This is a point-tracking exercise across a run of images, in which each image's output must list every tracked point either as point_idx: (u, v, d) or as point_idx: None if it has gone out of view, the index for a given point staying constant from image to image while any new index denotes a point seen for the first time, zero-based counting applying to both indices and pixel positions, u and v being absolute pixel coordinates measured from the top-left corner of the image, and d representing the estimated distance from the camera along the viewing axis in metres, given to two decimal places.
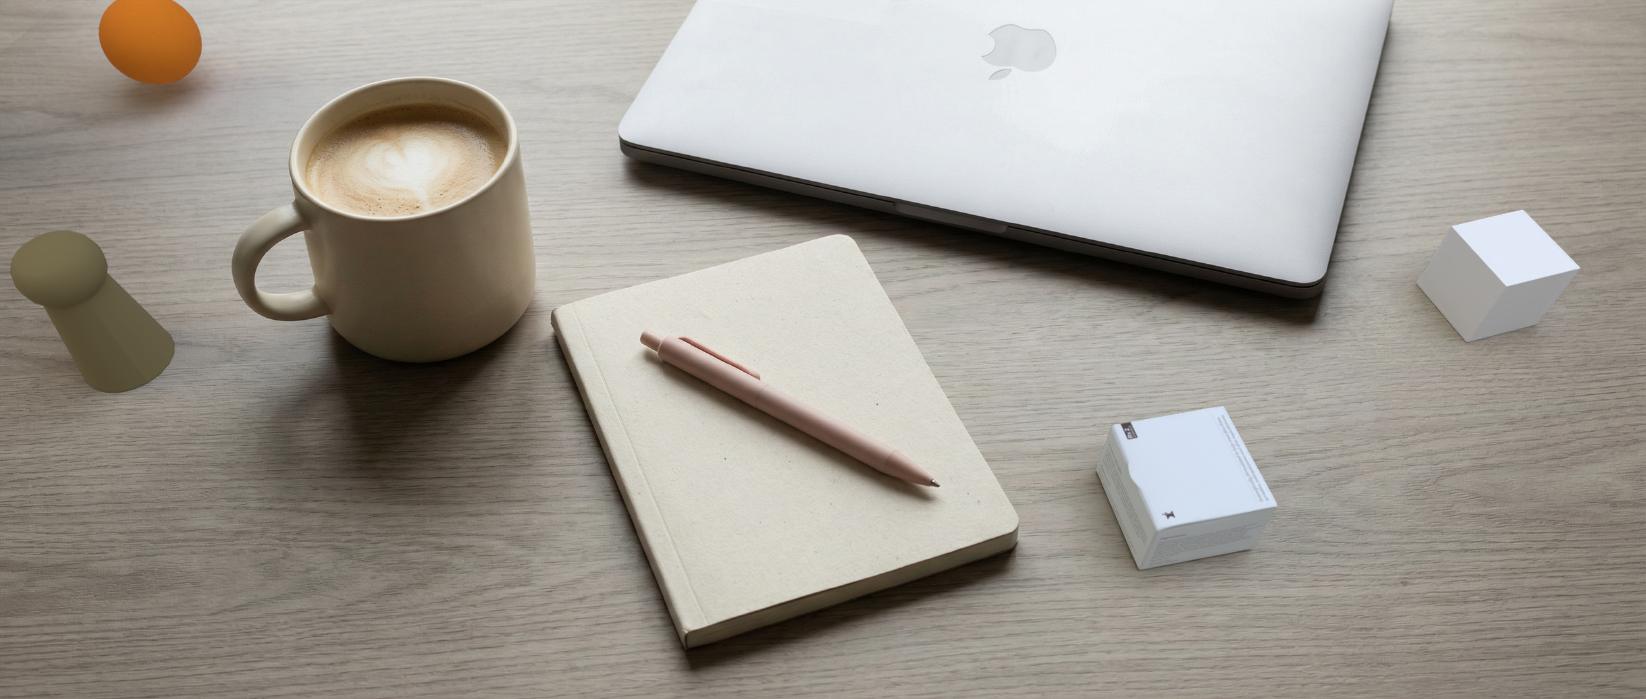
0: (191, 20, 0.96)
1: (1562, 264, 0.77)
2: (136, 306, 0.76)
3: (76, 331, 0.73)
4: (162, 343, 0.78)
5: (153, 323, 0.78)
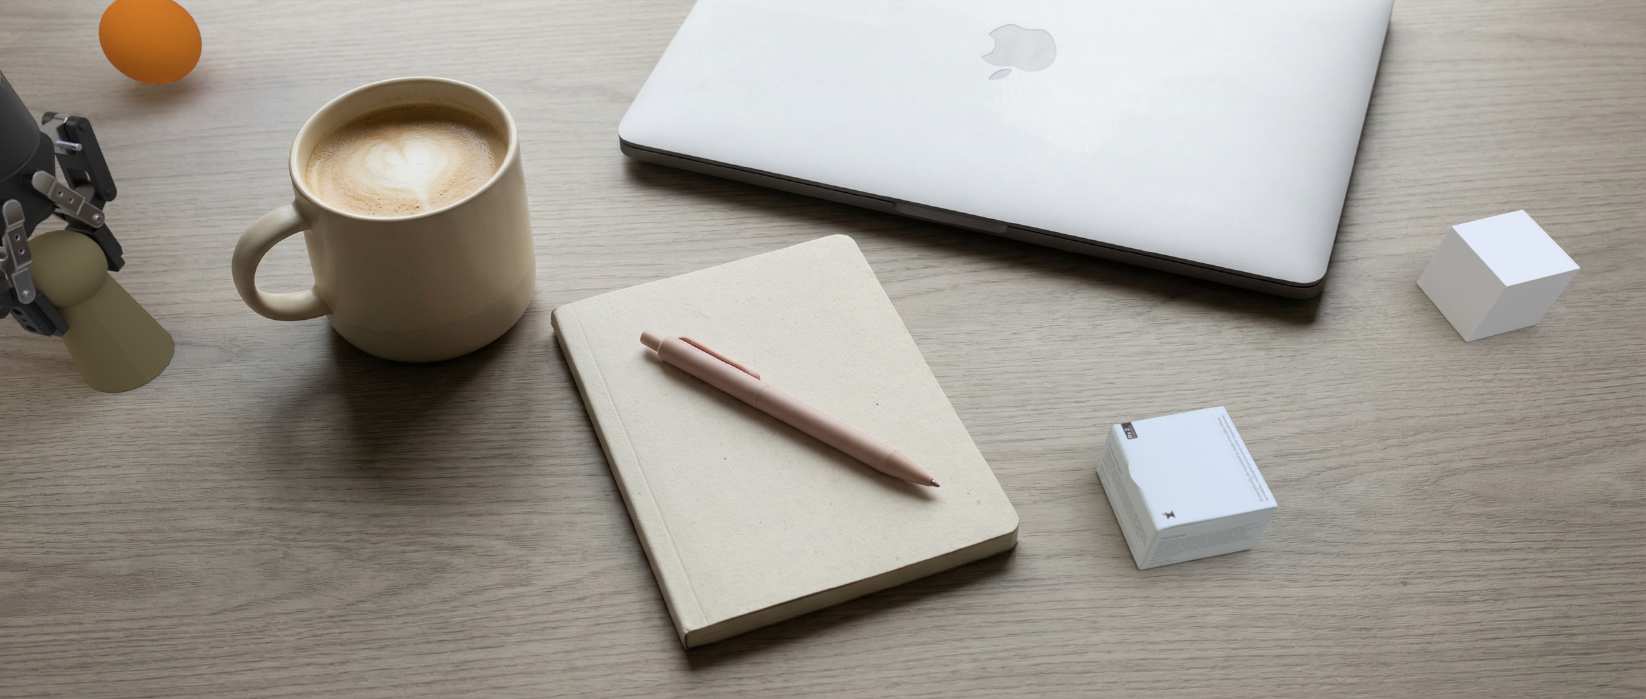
0: (191, 20, 0.96)
1: (1562, 264, 0.77)
2: (136, 306, 0.76)
3: (76, 331, 0.73)
4: (162, 343, 0.78)
5: (153, 323, 0.78)
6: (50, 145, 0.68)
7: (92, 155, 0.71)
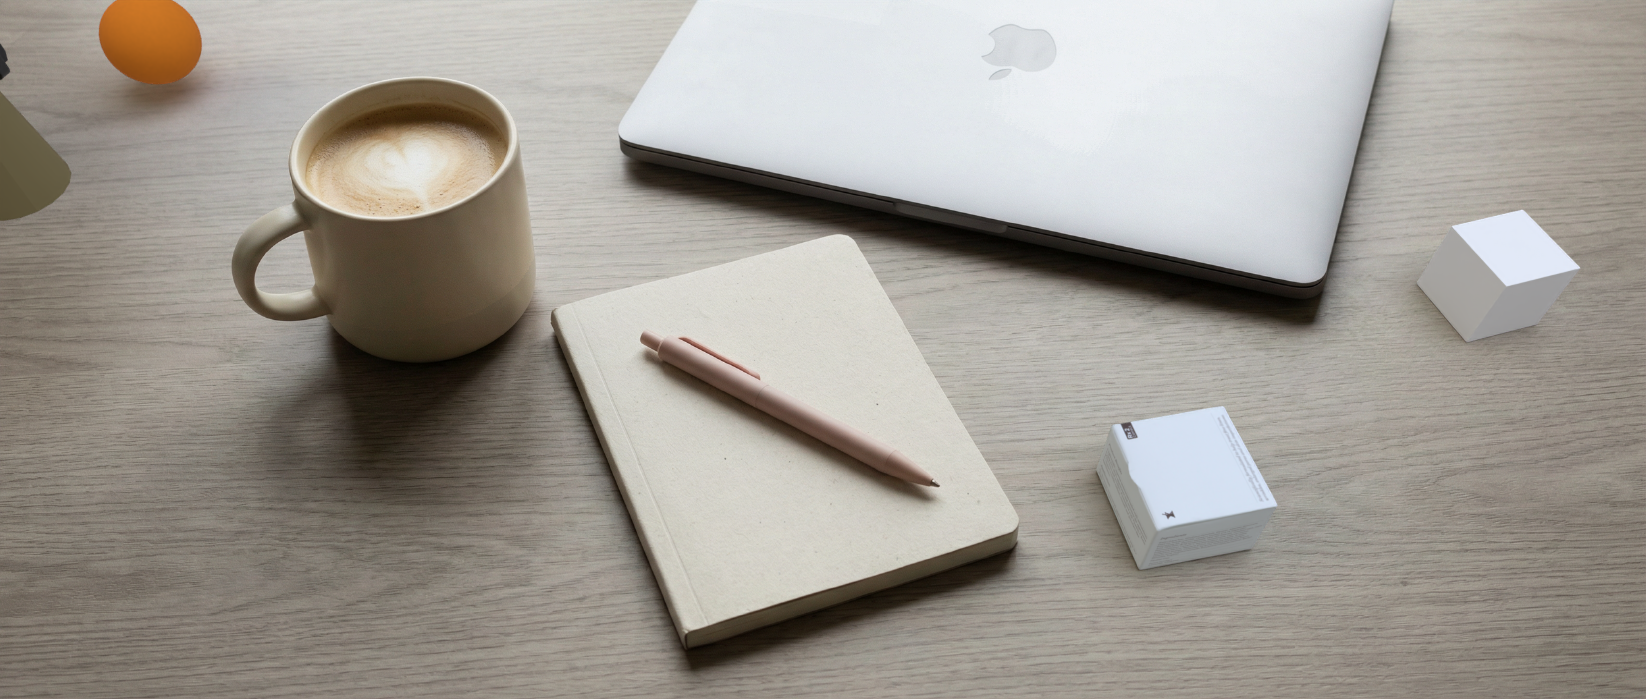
0: (191, 20, 0.96)
1: (1562, 264, 0.77)
2: (23, 121, 0.67)
3: None
4: (55, 169, 0.69)
5: (44, 145, 0.68)
6: None
7: None
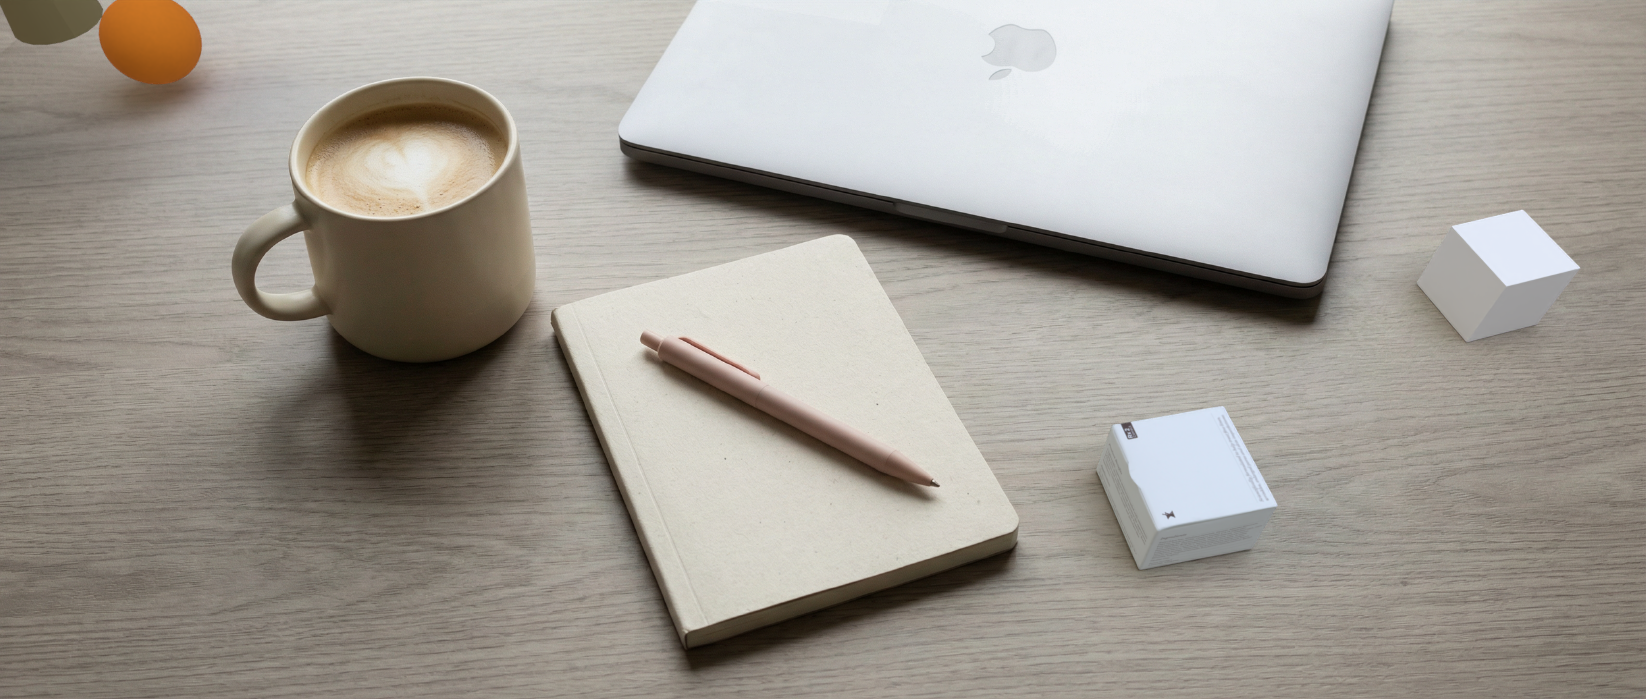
0: (191, 20, 0.96)
1: (1562, 264, 0.77)
2: None
3: None
4: (90, 2, 0.80)
5: None
6: None
7: None
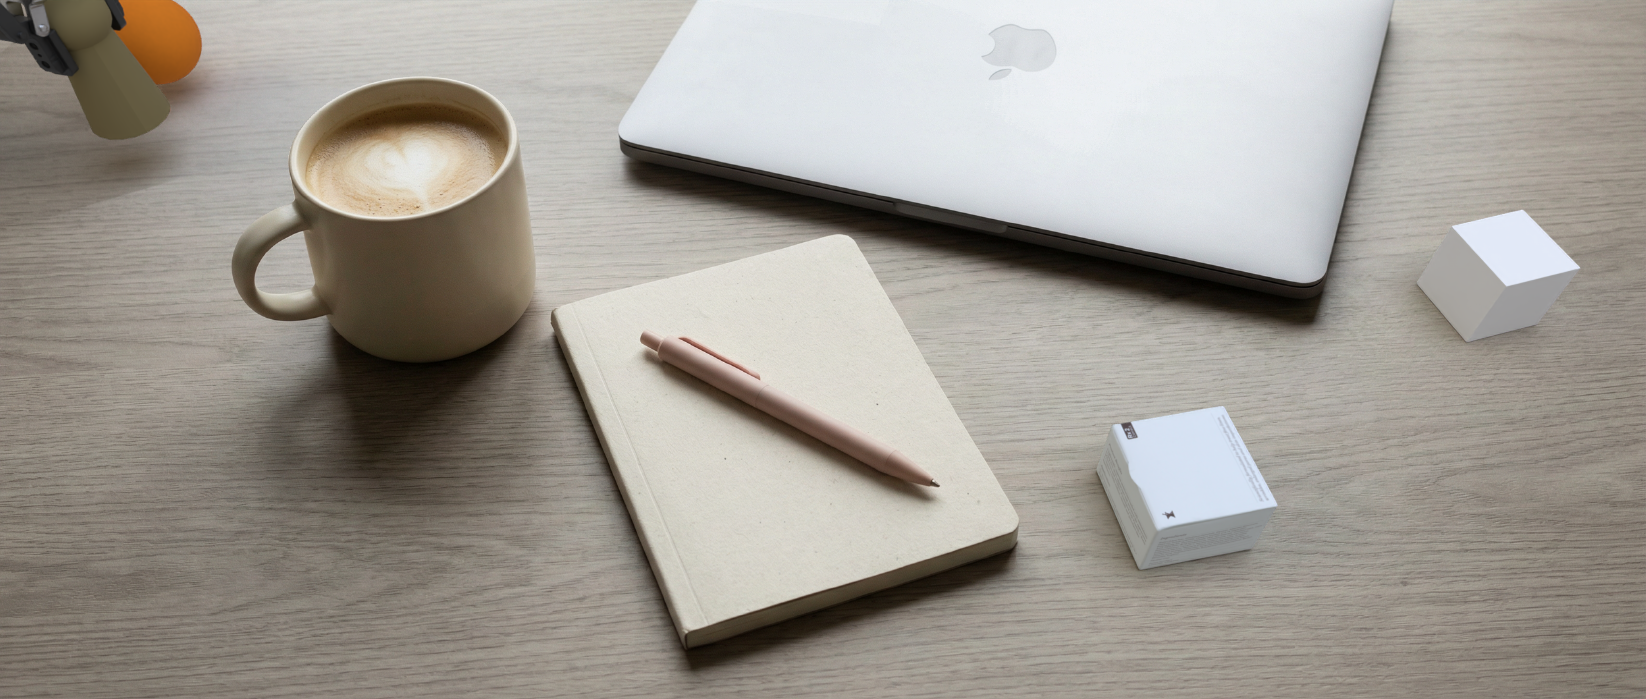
0: (191, 20, 0.96)
1: (1562, 264, 0.77)
2: (137, 62, 0.87)
3: (85, 75, 0.84)
4: (159, 100, 0.89)
5: (151, 81, 0.89)
6: None
7: None
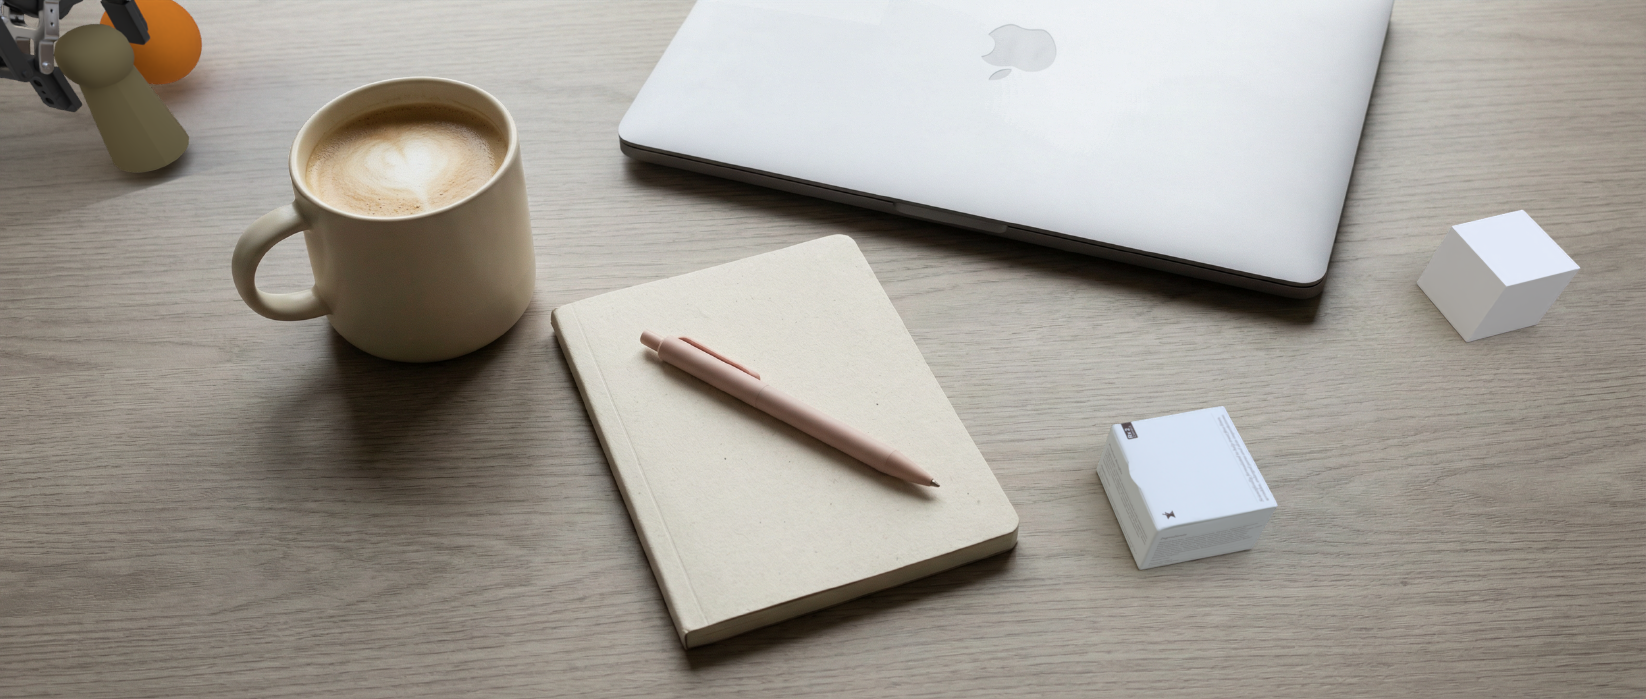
0: (191, 20, 0.96)
1: (1562, 264, 0.77)
2: (157, 97, 0.90)
3: (108, 111, 0.87)
4: (179, 133, 0.92)
5: (171, 115, 0.91)
6: None
7: None
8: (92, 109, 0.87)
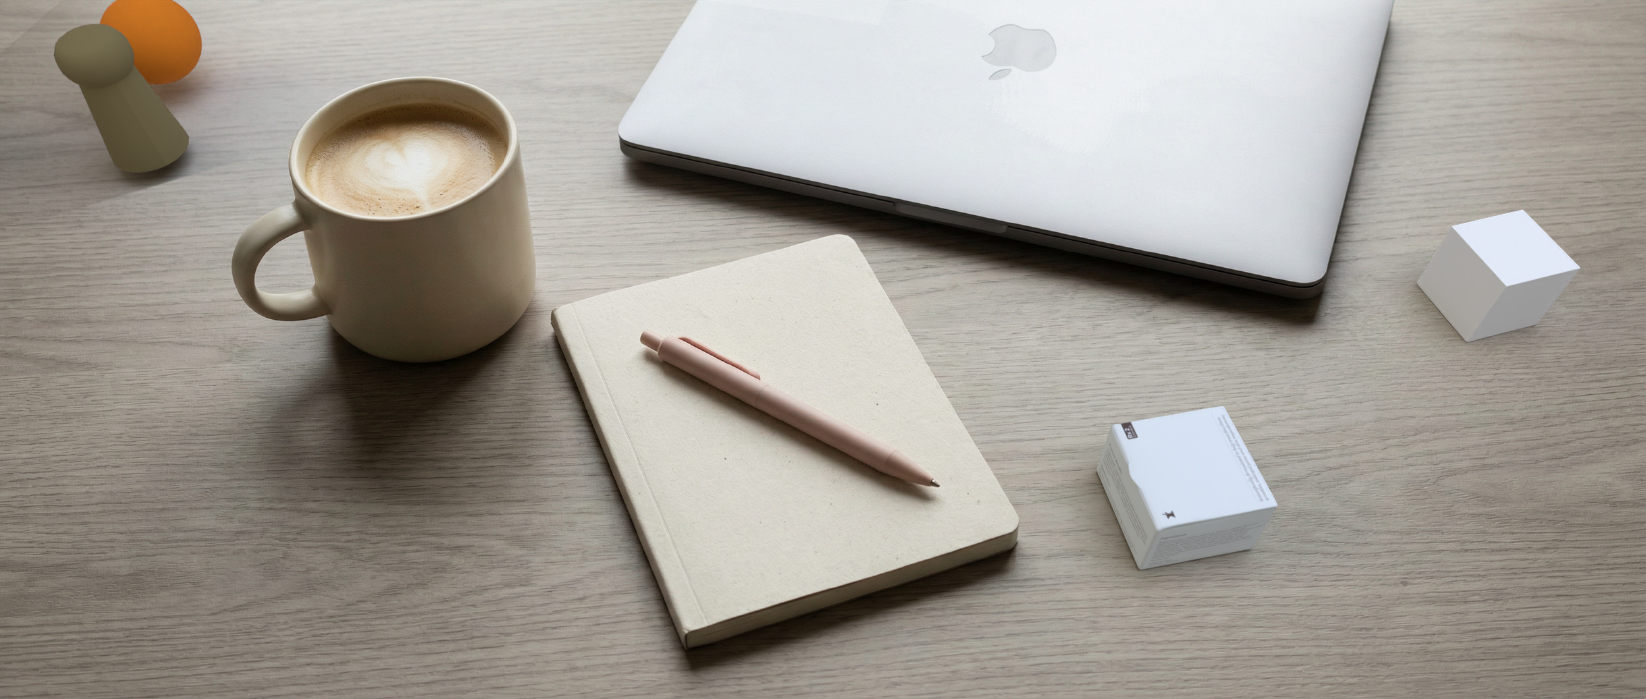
0: (191, 20, 0.96)
1: (1562, 264, 0.77)
2: (157, 97, 0.90)
3: (108, 111, 0.87)
4: (179, 133, 0.92)
5: (171, 115, 0.91)
6: None
7: None
8: (92, 109, 0.87)
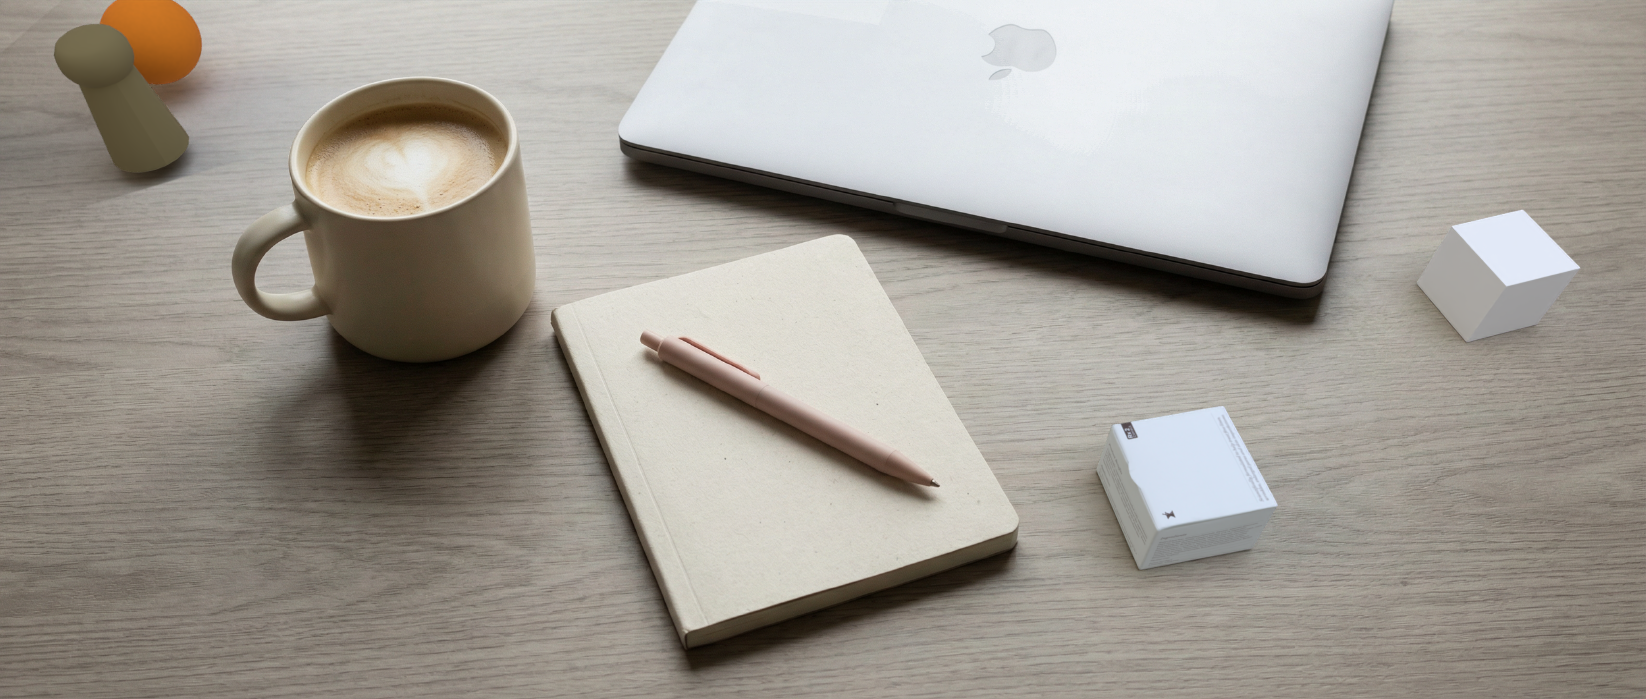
0: (191, 20, 0.96)
1: (1562, 264, 0.77)
2: (157, 97, 0.90)
3: (108, 111, 0.87)
4: (179, 133, 0.92)
5: (171, 115, 0.91)
6: None
7: None
8: (92, 109, 0.87)
